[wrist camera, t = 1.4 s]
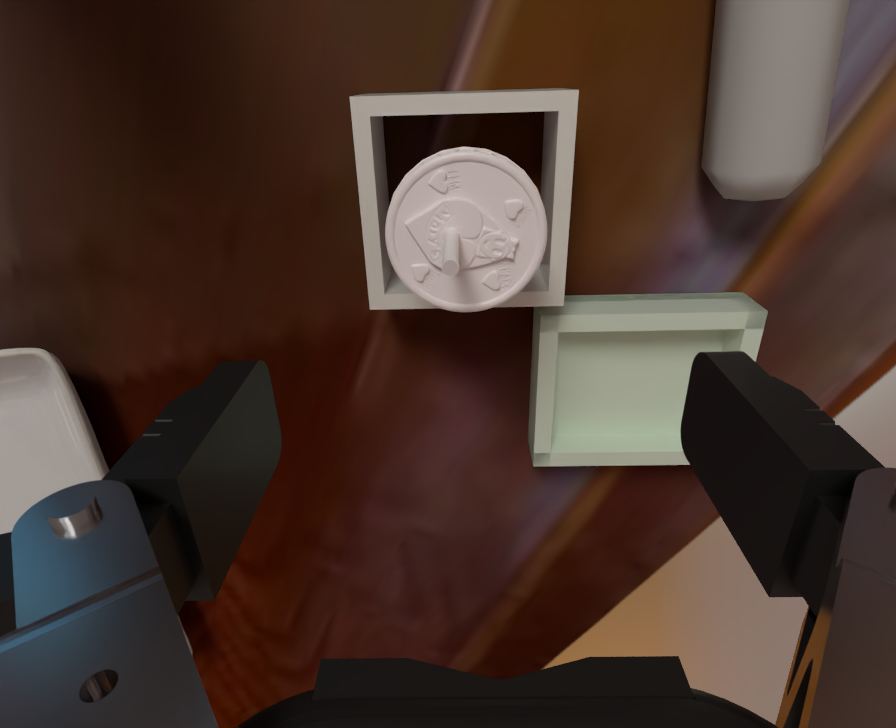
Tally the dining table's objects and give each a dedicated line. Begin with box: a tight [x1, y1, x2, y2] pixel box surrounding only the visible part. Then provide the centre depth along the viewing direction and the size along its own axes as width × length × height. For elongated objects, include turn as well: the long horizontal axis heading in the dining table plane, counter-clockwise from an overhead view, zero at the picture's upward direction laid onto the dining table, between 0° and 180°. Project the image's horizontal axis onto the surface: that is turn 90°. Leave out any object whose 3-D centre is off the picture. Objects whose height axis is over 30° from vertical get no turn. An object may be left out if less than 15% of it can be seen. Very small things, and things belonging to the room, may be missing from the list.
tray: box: [528, 292, 768, 466], centre depth 34 cm, size 12×10×3 cm
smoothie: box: [385, 146, 547, 312], centre depth 24 cm, size 6×6×14 cm
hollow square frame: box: [350, 88, 579, 310], centre depth 28 cm, size 10×10×4 cm
